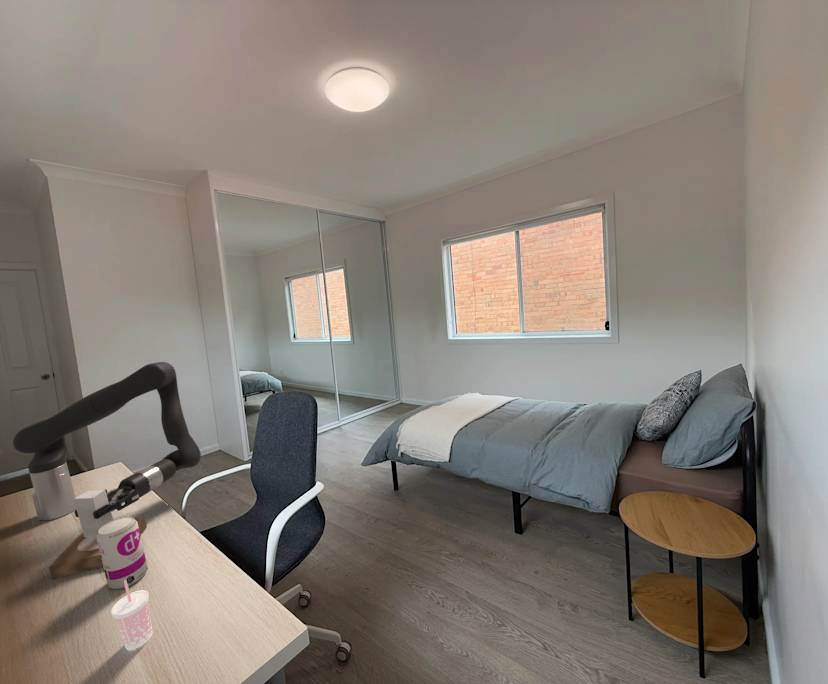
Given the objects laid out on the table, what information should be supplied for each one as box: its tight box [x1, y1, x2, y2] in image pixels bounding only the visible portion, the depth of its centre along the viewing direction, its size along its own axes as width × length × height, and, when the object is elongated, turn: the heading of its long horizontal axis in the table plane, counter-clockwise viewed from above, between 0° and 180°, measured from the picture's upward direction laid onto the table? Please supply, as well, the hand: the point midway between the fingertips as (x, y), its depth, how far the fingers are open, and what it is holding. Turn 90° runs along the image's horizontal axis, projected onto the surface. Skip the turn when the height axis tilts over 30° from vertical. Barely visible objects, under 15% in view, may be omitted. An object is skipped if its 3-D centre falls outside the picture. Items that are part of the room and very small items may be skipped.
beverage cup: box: [111, 579, 154, 651], centre depth 76 cm, size 6×6×14 cm
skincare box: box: [74, 489, 114, 537], centre depth 106 cm, size 6×4×12 cm
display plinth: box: [48, 516, 148, 580], centre depth 107 cm, size 16×16×4 cm
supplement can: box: [97, 515, 149, 590], centre depth 94 cm, size 8×8×15 cm
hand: (85, 515), depth 103 cm, fingers closed on skincare box, 6 cm apart
